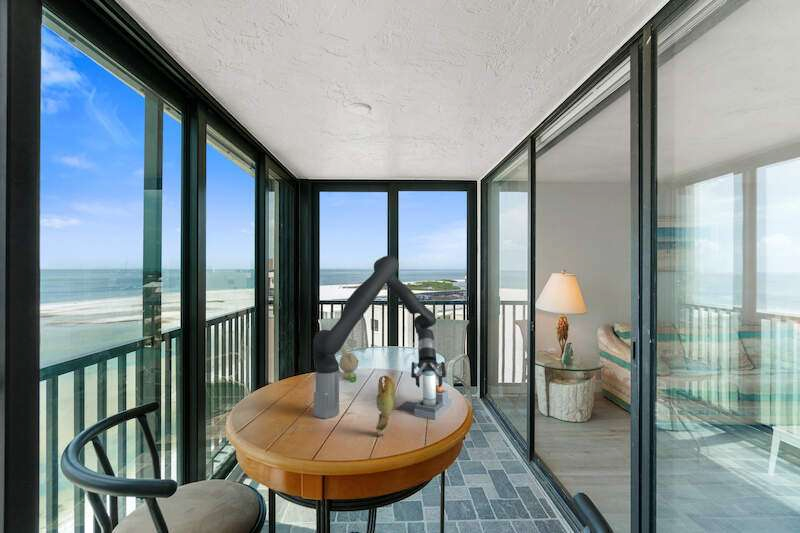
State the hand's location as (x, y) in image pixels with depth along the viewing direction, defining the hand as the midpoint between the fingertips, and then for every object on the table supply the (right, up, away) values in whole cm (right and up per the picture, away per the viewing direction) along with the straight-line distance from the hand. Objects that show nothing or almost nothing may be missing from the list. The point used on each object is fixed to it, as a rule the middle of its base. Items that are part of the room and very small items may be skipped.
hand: (429, 386), depth 142 cm
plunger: (+5, -5, +8) cm, 11 cm away
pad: (-7, -11, +6) cm, 14 cm away
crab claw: (-17, -11, -19) cm, 28 cm away
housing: (+2, -11, +3) cm, 11 cm away
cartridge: (0, -8, 0) cm, 8 cm away
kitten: (-39, -12, +48) cm, 63 cm away
